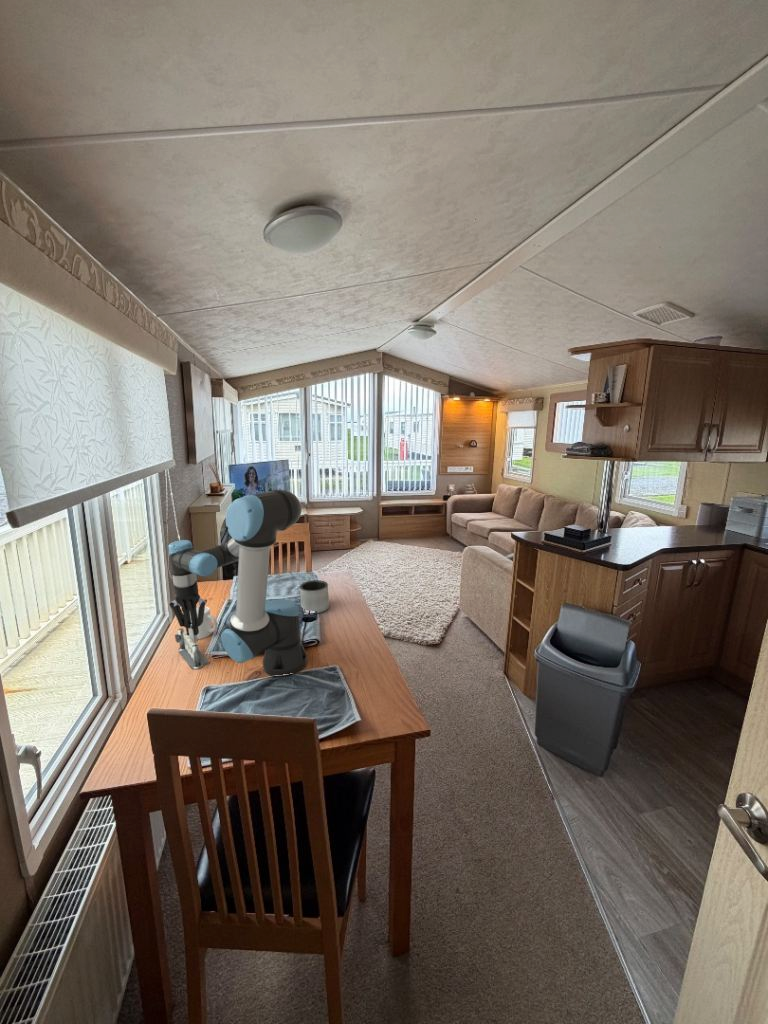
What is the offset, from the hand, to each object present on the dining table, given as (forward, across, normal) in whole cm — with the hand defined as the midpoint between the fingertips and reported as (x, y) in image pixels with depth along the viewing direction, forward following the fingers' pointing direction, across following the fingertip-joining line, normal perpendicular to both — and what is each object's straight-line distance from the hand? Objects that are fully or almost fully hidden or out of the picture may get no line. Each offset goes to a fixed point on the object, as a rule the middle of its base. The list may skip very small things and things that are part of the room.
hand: (194, 642), depth 156 cm
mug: (+5, +2, -13) cm, 14 cm away
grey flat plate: (+4, -1, +3) cm, 5 cm away
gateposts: (+4, +1, +4) cm, 5 cm away
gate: (+3, 0, +3) cm, 4 cm away
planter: (+5, -39, -35) cm, 53 cm away
